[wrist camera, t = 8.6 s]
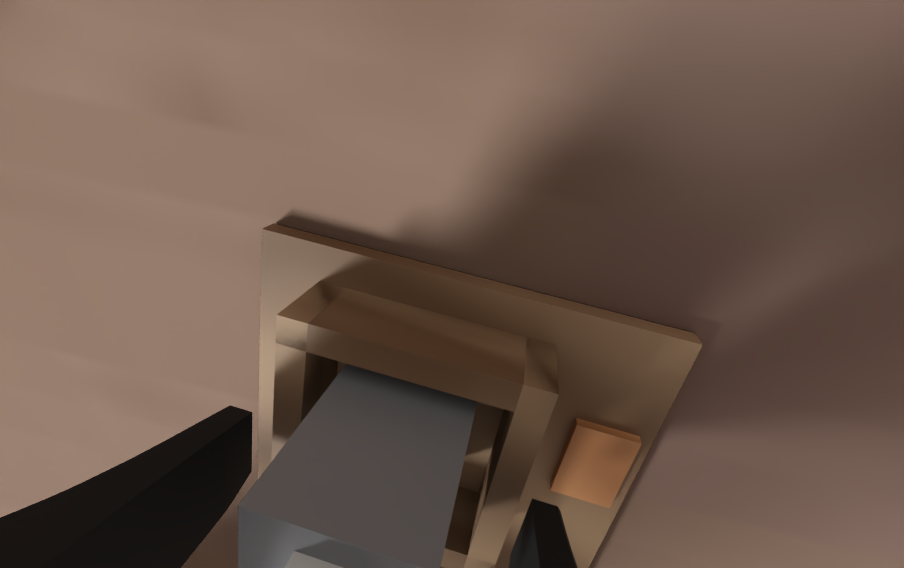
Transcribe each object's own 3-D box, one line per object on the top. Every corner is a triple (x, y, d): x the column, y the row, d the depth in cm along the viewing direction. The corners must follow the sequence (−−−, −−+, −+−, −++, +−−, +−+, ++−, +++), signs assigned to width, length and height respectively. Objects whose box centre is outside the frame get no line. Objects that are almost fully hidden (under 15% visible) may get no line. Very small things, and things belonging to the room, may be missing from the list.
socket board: (519, 687, 19) (515, 777, 16) (262, 596, 20) (222, 668, 17) (695, 333, 11) (738, 398, 9) (274, 223, 13) (205, 253, 10)
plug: (459, 457, 14) (391, 742, 8) (355, 424, 14) (209, 672, 8) (484, 367, 12) (426, 628, 6) (369, 333, 13) (203, 550, 7)
